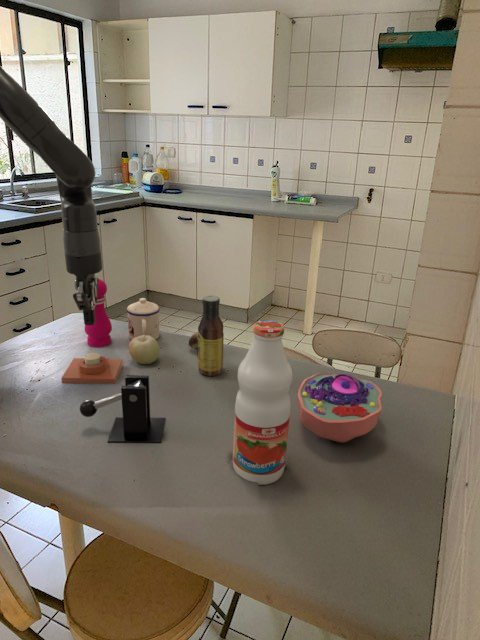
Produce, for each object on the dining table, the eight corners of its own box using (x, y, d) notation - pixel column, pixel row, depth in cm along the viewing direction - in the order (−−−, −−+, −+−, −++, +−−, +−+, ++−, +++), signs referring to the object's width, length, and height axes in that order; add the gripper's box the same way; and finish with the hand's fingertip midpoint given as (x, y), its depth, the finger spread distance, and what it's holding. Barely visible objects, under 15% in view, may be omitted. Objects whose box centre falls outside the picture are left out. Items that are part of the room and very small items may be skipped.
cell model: (274, 435, 93) (278, 386, 88) (321, 395, 108) (326, 352, 103) (352, 472, 83) (361, 419, 79) (392, 423, 98) (401, 376, 94)
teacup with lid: (128, 331, 137) (126, 294, 133) (159, 329, 139) (158, 293, 134) (127, 348, 126) (125, 308, 122) (161, 347, 128) (160, 307, 124)
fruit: (159, 354, 124) (159, 327, 121) (159, 367, 117) (158, 339, 114) (130, 355, 123) (129, 327, 120) (128, 368, 116) (126, 339, 113)
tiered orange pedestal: (62, 386, 107) (60, 371, 105) (74, 366, 116) (72, 351, 114) (114, 386, 107) (113, 371, 106) (122, 366, 117) (122, 352, 115)
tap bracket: (107, 446, 87) (103, 392, 83) (116, 422, 95) (112, 371, 90) (161, 447, 88) (159, 393, 83) (165, 422, 95) (164, 371, 91)
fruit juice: (279, 451, 88) (292, 314, 78) (288, 486, 80) (304, 337, 69) (230, 452, 87) (236, 314, 77) (234, 487, 79) (241, 337, 68)
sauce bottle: (204, 363, 120) (205, 291, 112) (226, 368, 118) (229, 295, 110) (193, 374, 114) (193, 299, 107) (216, 380, 112) (218, 303, 105)
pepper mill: (80, 343, 128) (73, 273, 121) (101, 335, 134) (96, 268, 126) (97, 350, 124) (91, 279, 117) (118, 341, 130) (114, 273, 122)
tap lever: (83, 422, 88) (74, 409, 87) (87, 413, 91) (79, 400, 89) (145, 398, 86) (137, 385, 85) (147, 389, 89) (139, 376, 88)
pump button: (83, 366, 108) (82, 359, 108) (86, 359, 112) (86, 352, 111) (98, 366, 109) (98, 359, 108) (102, 359, 112) (101, 352, 111)
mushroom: (213, 349, 120) (209, 326, 122) (186, 356, 123) (182, 334, 124) (224, 352, 128) (220, 330, 129) (198, 358, 130) (194, 337, 131)
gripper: (73, 242, 106) (81, 313, 112) (55, 257, 94) (64, 335, 100) (107, 243, 106) (112, 313, 113) (92, 258, 94) (99, 335, 101)
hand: (90, 323), depth 106 cm, fingers closed
